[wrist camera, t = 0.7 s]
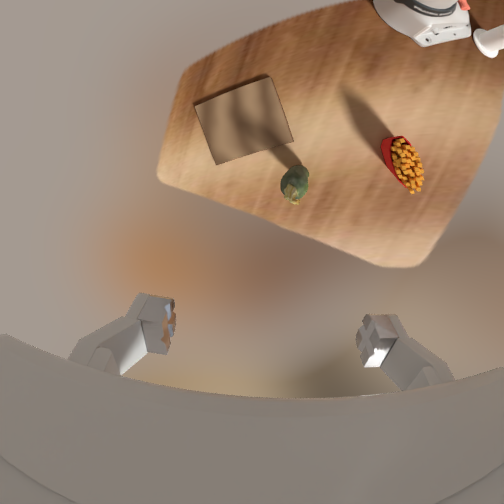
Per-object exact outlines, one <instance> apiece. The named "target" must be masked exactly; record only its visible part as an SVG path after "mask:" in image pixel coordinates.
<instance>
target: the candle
mask: <svg viewBox="0 0 504 504" xmlns="http://www.w3.org/2000/svg"><path fill="white" fill-rule="evenodd" d="M473 39H474V42H475V44H476V46H477V48H478V49H479V50H480V51H481V52H482V53H483V54H484V55H485V56H487V57H490V58H493V57H496V56H497V54H498V50H500V49H504V25H501V26H499V27H496V28H494V29H491V30H489V31H486V30H484V29H476V30H475V31H474V33H473Z"/></svg>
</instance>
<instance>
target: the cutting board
mask: <svg viewBox="0 0 504 504" xmlns="http://www.w3.org/2000/svg"><path fill="white" fill-rule="evenodd" d="M195 109H196V112H197V114H198V117H199V120H200V123H201V125H202V128H203V131H204V134H205V136H206V139H207V142H208V144H209V147H210V150H211V153H212V155H213V158H214V161H215V163H216V165H219V164H222V163H225V162H228V161H231V160H234V159H237V158H240V157H243V156H246V155H249V154H253V153H256V152H259V151H263V150H266V149H269V148H273V147H276V146H280V145H283V144H287V143H291V142H294V140H293V137H292V134H291V131H290V128H289V125H288V122H287V119H286V116H285V113H284V111H283V108H282V105H281V102H280V99H279V97H278V94H277V91H276V88H275V86H274V83H273V80H272V78H271V77H268V78H265V79H262V80H259V81H256V82H253V83H251V84H248V85H245V86H242V87H240V88H237V89H235V90H232V91H229V92H227V93H225V94H222V95H220V96H217V97H215V98H213V99H210V100H208V101H206V102H203V103H201V104H199V105H197V106H195Z"/></svg>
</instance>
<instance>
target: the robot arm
mask: <svg viewBox="0 0 504 504" xmlns="http://www.w3.org/2000/svg"><path fill="white" fill-rule="evenodd" d="M373 3H374V6H375V9H376V11H377V12H378V14H379V15H380V17H381V18H382V19H383V20H384V21H385V22H386V23H387V24H388V25H389V26H391V27H392V28H394V29H395V30H397V31H399V32H401V33H403V34H405V35H407V36H409V37H411V38H412V39H413V40H414V41H415V42H416V43H417V44H418V45H420V46H422V47H427V46H431V45H435V44H439V43H443V42H447V41H452V40H457V39H462V38H467V37H469V36H470V35H471V25H470V21H469V14H468V11H467V10H470V7H469V5H468V4H467V2H466V0H373ZM466 25H467V26H466ZM425 39H427V40H428V42H427V41H426V40H425ZM174 307H175V302H174V299H173V298H169V297H163V296H157V295H150V294H144V293H139V294H138V295H137V296H136V298H135V300H134V301H133V303H132V305H131V307H130V309H129V310H128V312H127V314H126V316H125V317H120V318H118V319H116V320H115V321H113V322H111V323H109V324H107V325H105V326H104V327H102V328H100V329H98V330H96V331H95V332H93V333H91V334H89V335H87V336H85V337H84V338H82V339H80V340H79V341H78V343H77V344H76V346H75V348H74V349H73V351H72V353H71V354H70V356H69V358H68V360H67V359H64V358H61V357H59V356H56V355H53V354H51V353H48V352H46V351H43V350H41V349H38V348H36V347H34V346H31V345H29V344H26V343H24V342H22V341H20V340H18V339H16V338H14V337H12V336H10V335H7V334H1V335H0V504H504V368H503V367H499V368H496V369H493V370H490V371H487V372H484V373H480V374H477V375H474V376H470V377H466V378H463V379H459V380H455V379H454V377H453V375H452V373H451V371H450V369H449V367H448V365H447V363H446V362H444V361H443V360H442V359H440V358H439V357H437V356H436V355H435V354H433V353H432V352H431V351H429V350H428V349H427V348H425V347H424V346H423V345H421V344H419V343H418V342H417V341H416V340H414V339H413V338H409V336H408V335H407V333H406V331H405V329H404V327H403V325H402V323H401V322H400V320H399V318H398V316H397V315H395V314H385V315H384V314H381V315H380V314H366V315H365V317H364V319H363V320H362V322H363V326H361V327H360V328H359V329H358V332H357V334H356V345H357V348H358V349H359V350H360V351H361V352H362V353H361V356H360V357H361V360H362V363H363V366H364V367H380V368H381V369H382V370H383V371H384V372H385V373H386V375H387V376H389V378H390V379H391V380H392V381H393V382H394V383H395V384H396V385H397V386H398V387H399V388H400V389H401V390H402V391H398V392H391V393H383V394H375V395H365V396H353V397H337V398H309V399H308V398H305V399H304V398H298V399H297V398H295V399H294V398H293V399H292V398H263V397H246V396H235V395H225V394H216V393H207V392H199V391H193V390H186V389H180V388H174V387H169V386H164V385H158V384H154V383H149V382H144V381H140V380H135V379H131V378H127V377H123V376H121V375H122V374H123V373H124V372H125V371H127V370H128V369H129V368H130V367H131V366H133V365H134V364H135V363H136V362H137V361H139V360H140V359H141V358H142V357H143V356H145V355H146V354H147V352H151V353H157V354H164V355H167V353H168V350H169V347H170V344H171V341H170V337H172V336H173V335H174V332H175V326H176V314H175V313H174V312H173V310H174Z"/></svg>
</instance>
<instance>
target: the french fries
mask: <svg viewBox="0 0 504 504" xmlns="http://www.w3.org/2000/svg"><path fill="white" fill-rule="evenodd" d="M381 150H382V153H383V156H384V160H385V163H386V165H387V168H388V169H389V170H390V171H391V172H392V173H393V175H394V176H395V177H396V178H397V179H398V181H399V182H400V183H402V184H403V185H404V186H405V187H406V188H408V189H409V191H410V193H411V194H414V193H415V192H414V191H413V189H412V188H415V189H416V191H421V188H420V187H419V185H422V181H421V180H424V178H423V176H422V175H421V174H420V173H424V170H423V169H422V168H420V167H422V163H421V162H419V161H420V157H417V156H418V152H415V148H414V147H412V146H411V144H410V142H409V141H407V140H406V139H405V138H404V137H403V136H397V137H390V138H387V139H383V141H382V144H381ZM411 187H412V188H411Z"/></svg>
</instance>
